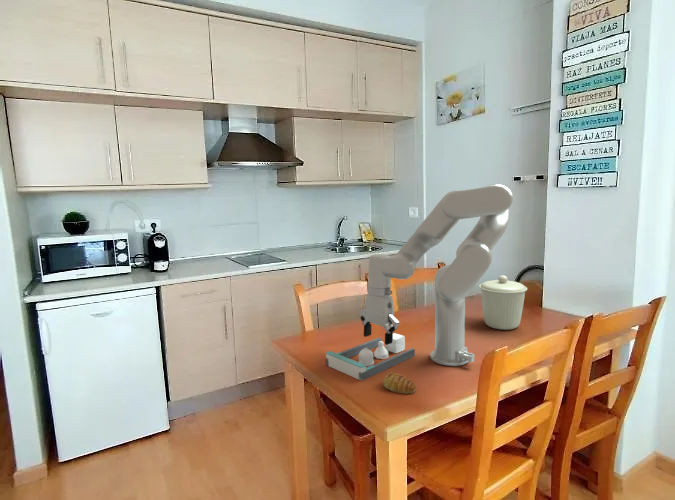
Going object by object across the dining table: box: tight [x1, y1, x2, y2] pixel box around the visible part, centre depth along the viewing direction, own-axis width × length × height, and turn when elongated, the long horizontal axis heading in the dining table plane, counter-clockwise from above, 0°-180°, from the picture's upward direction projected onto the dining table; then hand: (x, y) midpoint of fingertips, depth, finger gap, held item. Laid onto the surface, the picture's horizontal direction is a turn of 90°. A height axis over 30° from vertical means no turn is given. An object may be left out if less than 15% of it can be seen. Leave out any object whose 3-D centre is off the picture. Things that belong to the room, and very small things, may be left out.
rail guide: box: [325, 337, 416, 381], centre depth 138 cm, size 16×26×4 cm, turn 132°
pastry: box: [382, 372, 418, 395], centre depth 118 cm, size 9×7×4 cm
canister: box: [478, 275, 528, 331], centre depth 167 cm, size 18×18×21 cm
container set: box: [357, 332, 406, 367], centre depth 141 cm, size 20×5×6 cm, turn 132°
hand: (377, 339), depth 141 cm, fingers open, 9 cm apart
